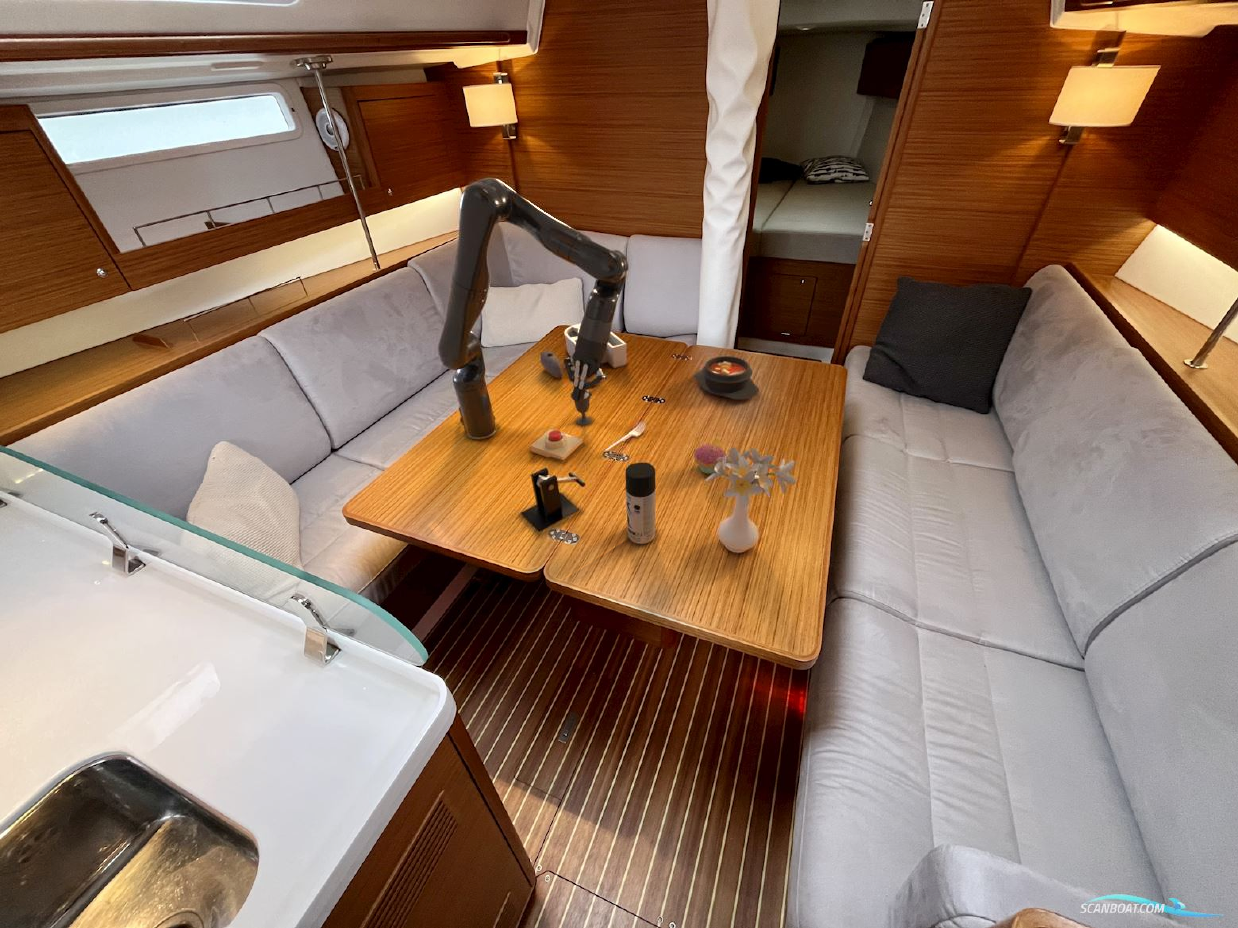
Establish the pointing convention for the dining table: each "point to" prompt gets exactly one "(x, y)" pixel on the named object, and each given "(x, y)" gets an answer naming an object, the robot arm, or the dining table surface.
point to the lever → (562, 479)
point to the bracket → (548, 503)
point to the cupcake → (708, 456)
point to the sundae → (583, 408)
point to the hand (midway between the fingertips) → (577, 400)
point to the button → (555, 436)
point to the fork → (630, 434)
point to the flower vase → (746, 494)
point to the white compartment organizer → (614, 349)
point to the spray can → (640, 502)
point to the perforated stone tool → (551, 364)
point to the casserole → (727, 378)
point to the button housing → (555, 445)
